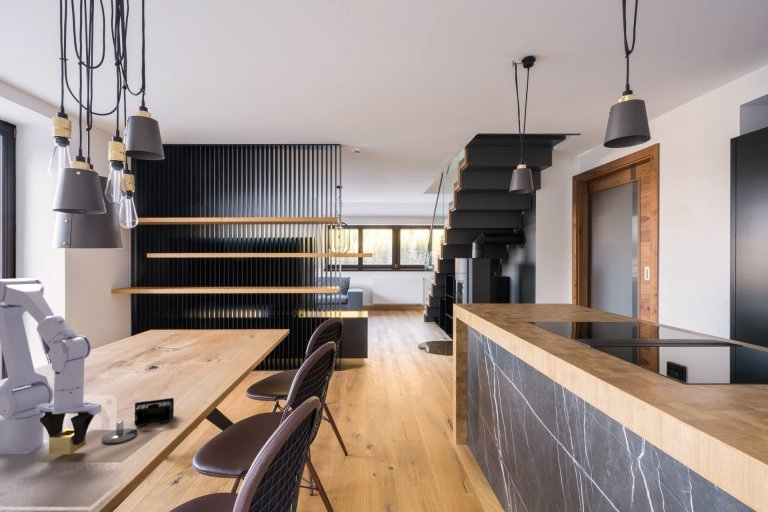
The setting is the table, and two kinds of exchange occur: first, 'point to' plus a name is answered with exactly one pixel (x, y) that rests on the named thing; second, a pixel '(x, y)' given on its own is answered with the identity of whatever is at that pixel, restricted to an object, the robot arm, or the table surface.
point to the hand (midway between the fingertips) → (67, 442)
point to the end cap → (154, 411)
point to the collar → (64, 442)
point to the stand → (119, 435)
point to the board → (104, 448)
